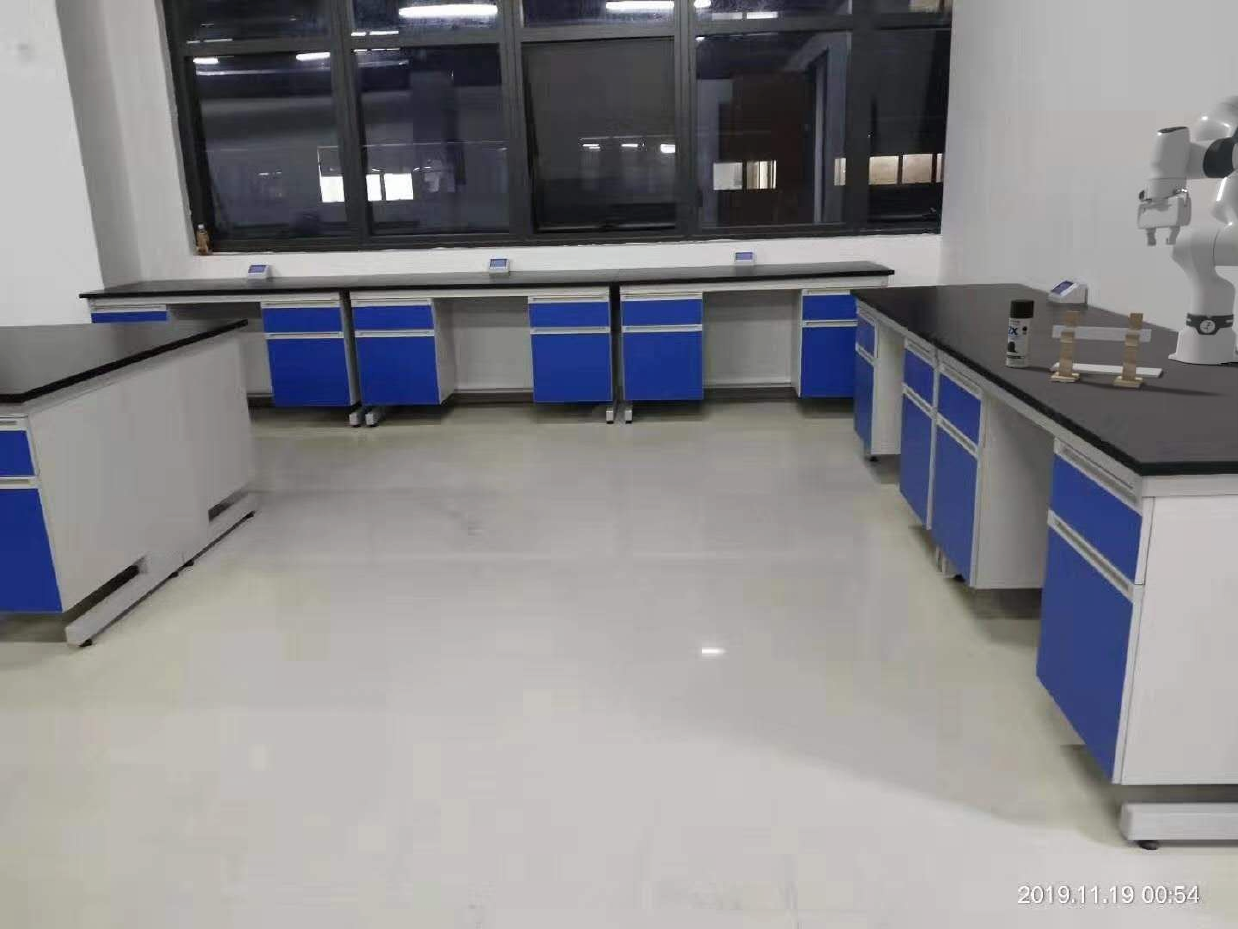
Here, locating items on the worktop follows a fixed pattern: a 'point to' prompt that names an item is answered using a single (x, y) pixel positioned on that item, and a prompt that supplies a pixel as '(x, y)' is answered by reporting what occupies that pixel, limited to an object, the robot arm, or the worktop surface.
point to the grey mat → (1110, 370)
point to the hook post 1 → (1067, 351)
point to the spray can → (1020, 333)
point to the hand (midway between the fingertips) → (1160, 245)
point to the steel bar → (1102, 333)
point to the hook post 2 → (1131, 355)
